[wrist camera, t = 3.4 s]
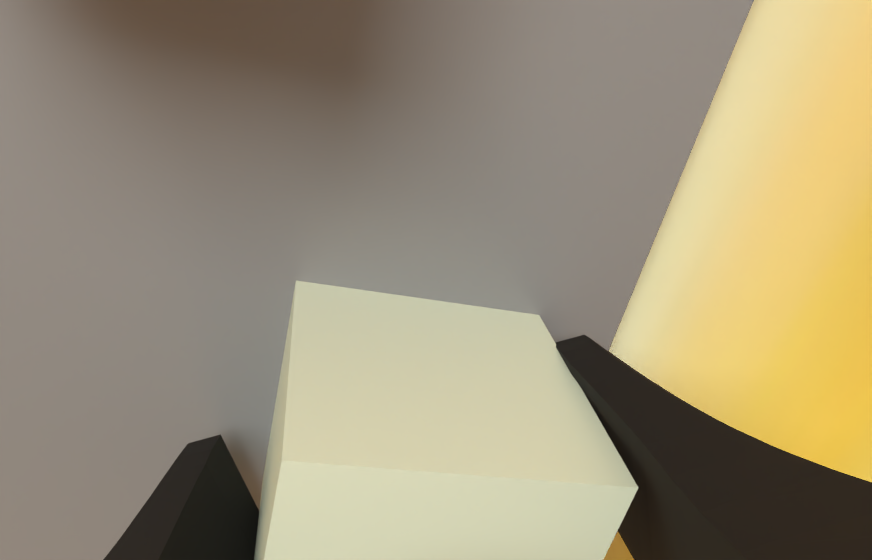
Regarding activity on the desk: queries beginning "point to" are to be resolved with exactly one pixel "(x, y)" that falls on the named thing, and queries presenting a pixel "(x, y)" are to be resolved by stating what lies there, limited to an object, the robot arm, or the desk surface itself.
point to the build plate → (301, 204)
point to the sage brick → (432, 438)
